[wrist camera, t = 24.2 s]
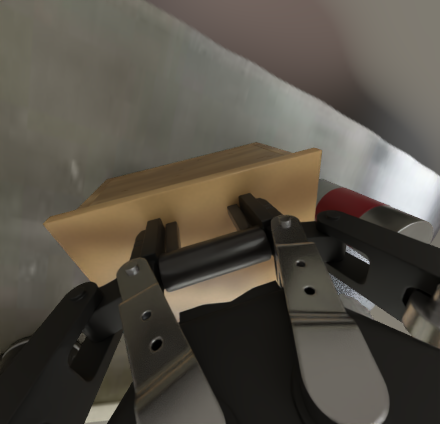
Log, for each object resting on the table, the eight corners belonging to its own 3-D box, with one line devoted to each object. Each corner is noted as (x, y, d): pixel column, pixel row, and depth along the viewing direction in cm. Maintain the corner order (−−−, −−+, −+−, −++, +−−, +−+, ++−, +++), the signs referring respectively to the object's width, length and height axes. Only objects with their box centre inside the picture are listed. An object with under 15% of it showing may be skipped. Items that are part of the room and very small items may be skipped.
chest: (106, 179, 20) (66, 218, 12) (256, 141, 22) (303, 155, 14) (155, 277, 27) (149, 342, 19) (266, 243, 29) (301, 289, 21)
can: (297, 218, 28) (373, 279, 18) (297, 184, 25) (386, 232, 15) (330, 208, 29) (422, 262, 18) (333, 174, 26) (443, 213, 16)
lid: (49, 216, 11) (-33, 299, 6) (314, 147, 13) (396, 173, 8) (149, 343, 19) (145, 418, 15) (301, 289, 21) (339, 342, 16)
